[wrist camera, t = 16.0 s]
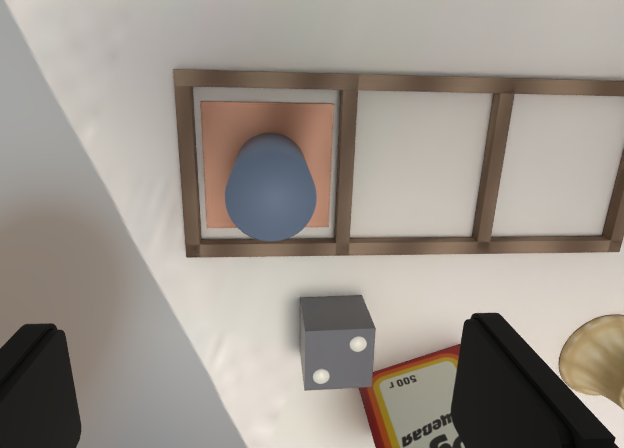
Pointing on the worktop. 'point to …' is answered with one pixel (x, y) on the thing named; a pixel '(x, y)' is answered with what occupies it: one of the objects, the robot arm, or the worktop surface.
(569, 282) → the worktop surface
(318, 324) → the die
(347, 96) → the board
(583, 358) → the hand bell
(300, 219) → the blue cylinder
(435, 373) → the baking soda box
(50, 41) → the worktop surface
